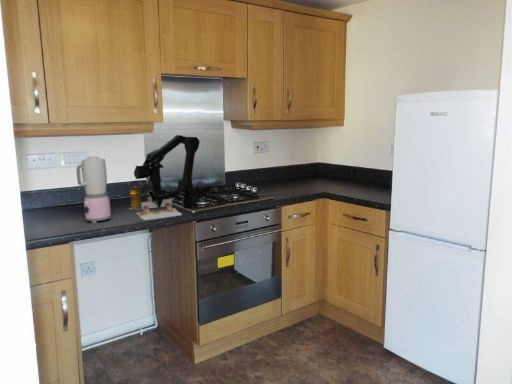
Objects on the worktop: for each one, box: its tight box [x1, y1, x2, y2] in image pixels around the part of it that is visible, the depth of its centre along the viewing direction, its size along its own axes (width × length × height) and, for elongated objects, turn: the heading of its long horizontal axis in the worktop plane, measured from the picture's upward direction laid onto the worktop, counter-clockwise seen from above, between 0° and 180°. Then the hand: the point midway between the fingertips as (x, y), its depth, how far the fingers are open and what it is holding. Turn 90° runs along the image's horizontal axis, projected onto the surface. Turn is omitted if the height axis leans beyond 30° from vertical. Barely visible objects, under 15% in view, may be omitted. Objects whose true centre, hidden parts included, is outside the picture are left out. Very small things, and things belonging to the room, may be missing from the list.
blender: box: [76, 155, 112, 224], centre depth 211 cm, size 16×12×32 cm
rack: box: [136, 204, 178, 217], centre depth 228 cm, size 20×6×5 cm, turn 118°
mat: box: [140, 210, 183, 221], centre depth 222 cm, size 20×8×1 cm, turn 118°
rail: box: [140, 198, 173, 210], centre depth 228 cm, size 16×3×3 cm, turn 118°
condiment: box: [128, 186, 143, 211], centre depth 240 cm, size 7×8×12 cm
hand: (156, 205), depth 228 cm, fingers open, 9 cm apart
